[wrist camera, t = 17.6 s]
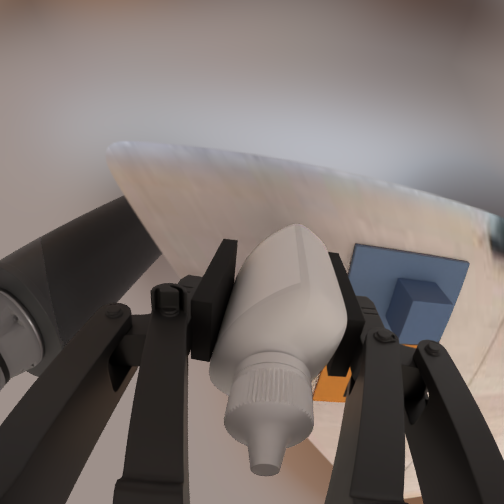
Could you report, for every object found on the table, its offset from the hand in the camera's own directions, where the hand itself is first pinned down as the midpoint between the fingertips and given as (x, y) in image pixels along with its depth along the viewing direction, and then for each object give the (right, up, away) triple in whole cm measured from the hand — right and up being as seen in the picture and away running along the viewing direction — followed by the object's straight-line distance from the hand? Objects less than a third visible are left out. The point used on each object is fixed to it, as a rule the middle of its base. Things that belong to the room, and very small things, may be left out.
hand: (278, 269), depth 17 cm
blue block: (+15, -4, +11) cm, 19 cm away
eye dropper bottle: (0, 0, 0) cm, 1 cm away
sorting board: (+13, -8, +14) cm, 21 cm away
